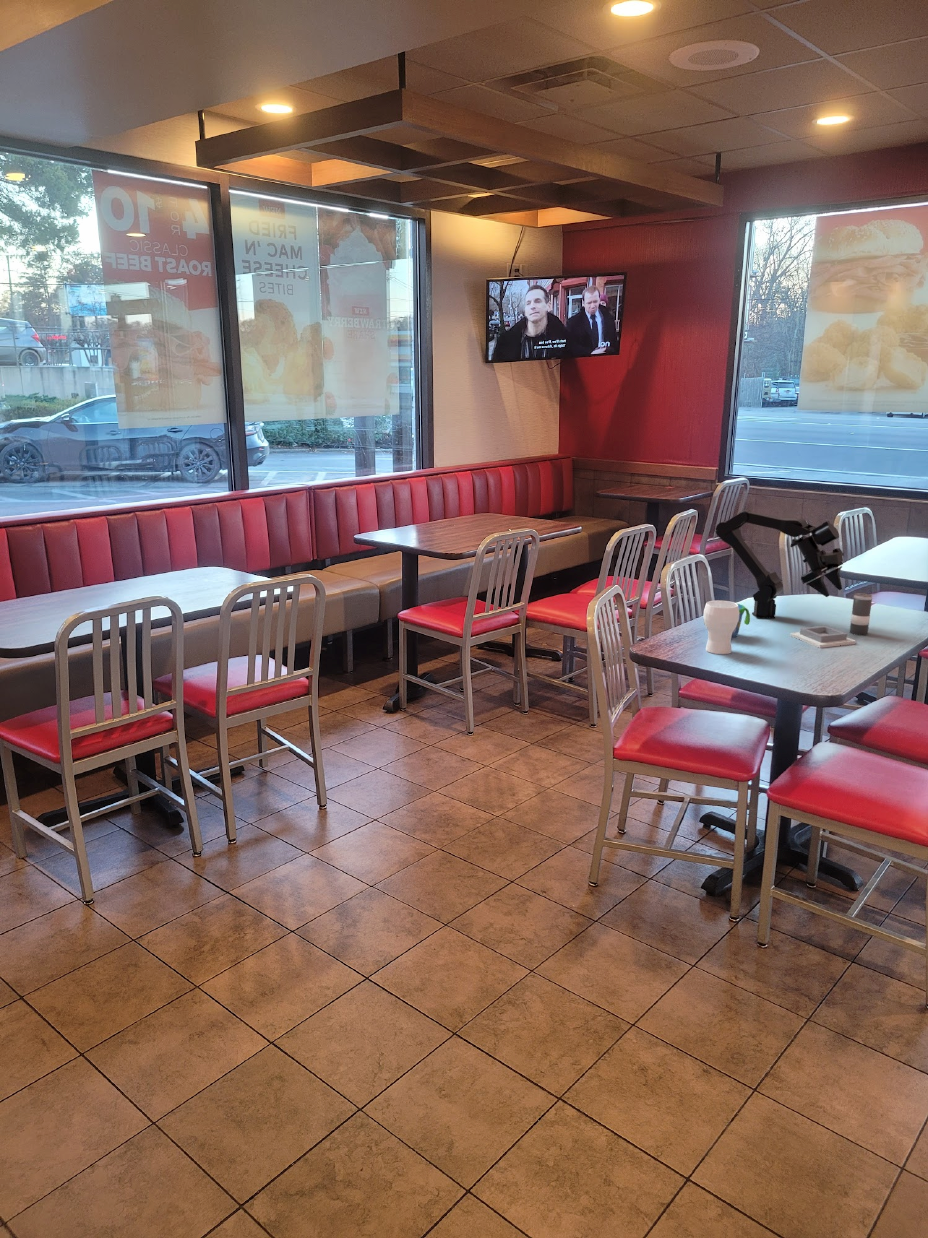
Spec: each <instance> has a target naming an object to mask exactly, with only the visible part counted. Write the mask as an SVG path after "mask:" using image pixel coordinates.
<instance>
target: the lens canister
mask: <svg viewBox="0 0 928 1238" xmlns="http://www.w3.org/2000/svg"><path fill="white" fill-rule="evenodd" d="M852 600H853V601H852V603H853V604H852V607H851V609H852V610H851V619H850V626H849V634H851V635H854V634H855V635H856V636H867V635H868V634H869V632H868V631H869V626H870V619H871V609H872V604H873V603H872V601H873V595H872V594H869V593H864V592H862V593H861V592H858V593H857V592H856V593H853V599H852ZM855 635H854V636H855Z"/></svg>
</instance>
